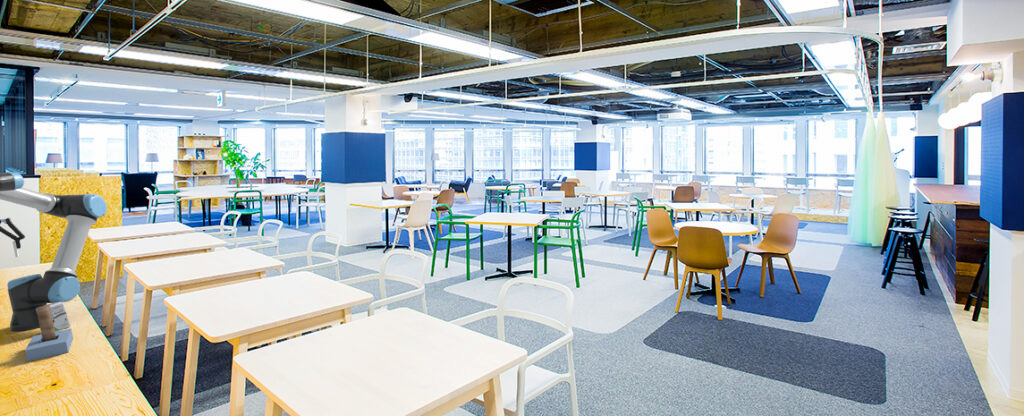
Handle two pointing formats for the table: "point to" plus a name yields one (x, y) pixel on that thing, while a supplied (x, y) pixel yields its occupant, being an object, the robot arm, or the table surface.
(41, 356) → the socket block
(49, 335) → the peg
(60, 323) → the ink box
